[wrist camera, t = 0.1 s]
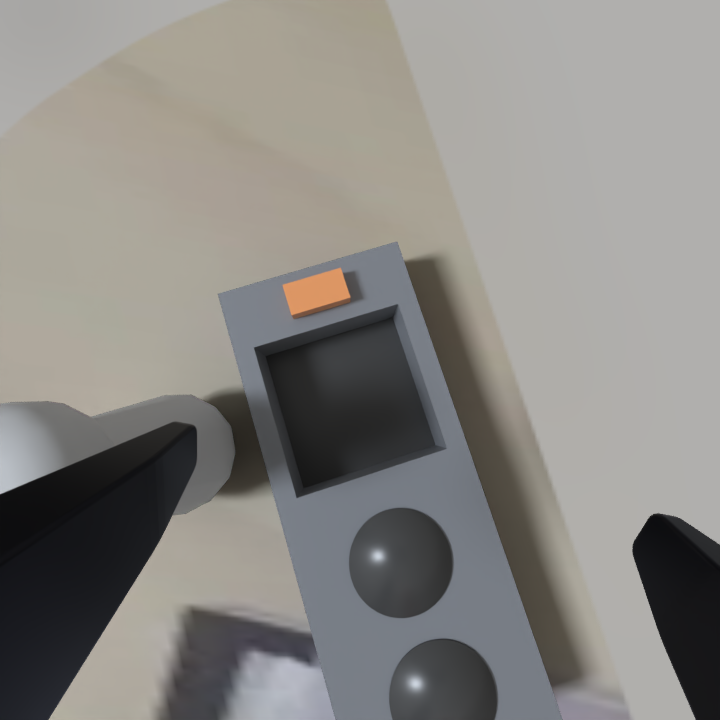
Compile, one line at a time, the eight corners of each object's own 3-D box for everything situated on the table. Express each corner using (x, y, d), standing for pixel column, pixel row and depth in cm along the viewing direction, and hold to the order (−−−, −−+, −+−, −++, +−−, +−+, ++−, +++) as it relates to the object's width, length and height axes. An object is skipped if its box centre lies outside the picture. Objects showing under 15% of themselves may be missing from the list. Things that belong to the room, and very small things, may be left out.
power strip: (584, 826, 20) (636, 919, 16) (400, 899, 20) (411, 1013, 16) (391, 263, 24) (398, 234, 20) (234, 309, 24) (212, 288, 20)
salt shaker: (248, 396, 23) (116, 368, 10) (245, 502, 22) (97, 619, 9) (143, 397, 23) (-126, 369, 10) (136, 504, 22) (-168, 624, 9)
